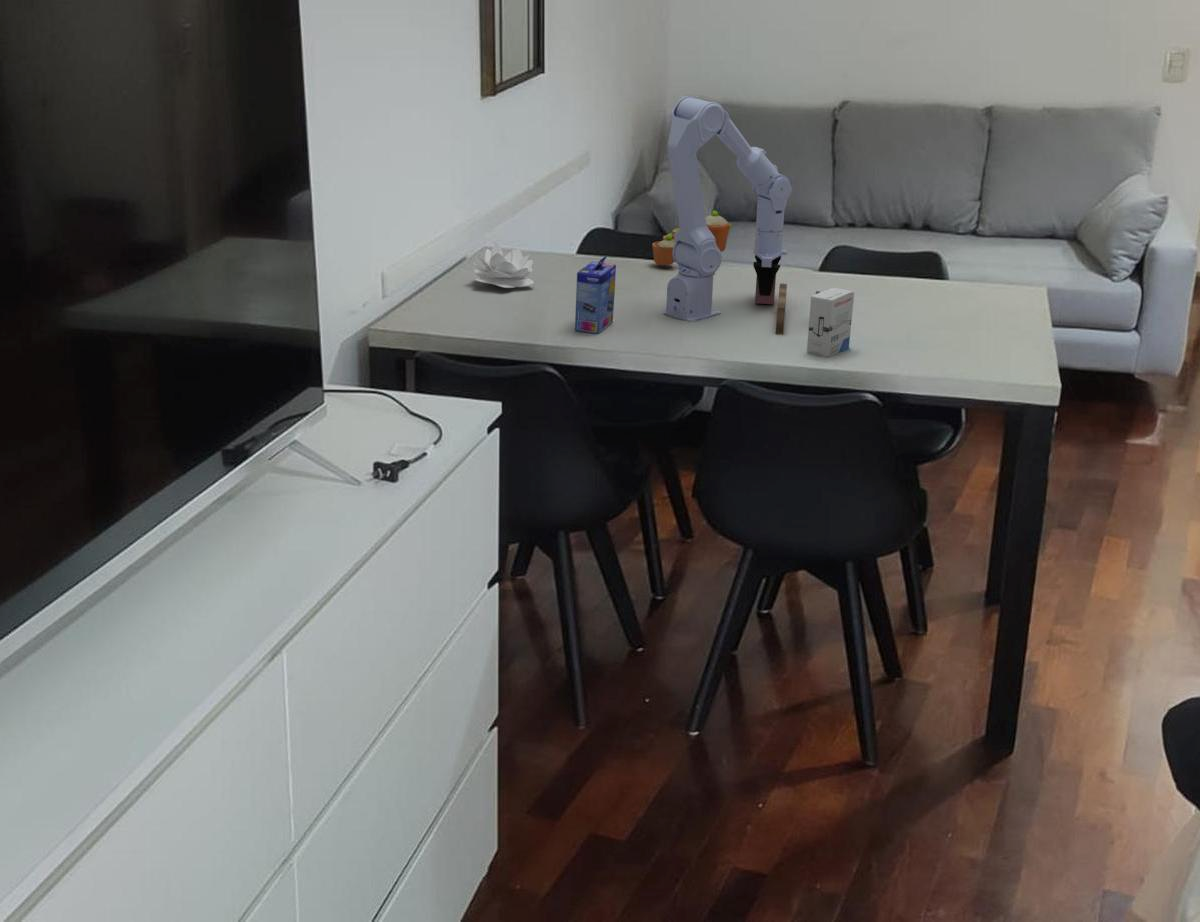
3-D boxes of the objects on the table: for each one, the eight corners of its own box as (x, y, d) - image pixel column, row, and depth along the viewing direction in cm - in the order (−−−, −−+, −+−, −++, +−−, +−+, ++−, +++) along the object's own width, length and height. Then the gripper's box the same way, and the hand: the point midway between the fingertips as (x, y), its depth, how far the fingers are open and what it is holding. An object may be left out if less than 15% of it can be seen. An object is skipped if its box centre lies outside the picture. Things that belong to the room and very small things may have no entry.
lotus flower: (511, 295, 312) (511, 255, 309) (456, 284, 320) (455, 245, 316) (549, 281, 323) (550, 242, 320) (495, 270, 331) (495, 232, 327)
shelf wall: (783, 334, 290) (785, 307, 288) (775, 333, 290) (777, 307, 288) (785, 309, 306) (787, 283, 304) (778, 308, 306) (779, 283, 304)
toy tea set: (673, 240, 362) (674, 201, 358) (733, 246, 357) (735, 207, 353) (642, 265, 339) (643, 224, 335) (706, 271, 334) (708, 230, 331)
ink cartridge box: (600, 335, 287) (601, 263, 281) (573, 331, 288) (574, 260, 283) (615, 321, 296) (617, 251, 290) (589, 318, 297) (590, 249, 292)
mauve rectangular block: (773, 304, 309) (775, 272, 307) (754, 303, 310) (756, 271, 307) (774, 297, 314) (776, 266, 311) (755, 296, 314) (757, 265, 312)
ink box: (828, 344, 284) (833, 285, 280) (850, 349, 282) (855, 290, 277) (805, 354, 278) (809, 294, 274) (827, 359, 275) (832, 299, 271)
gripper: (787, 238, 299) (783, 302, 304) (789, 222, 312) (784, 283, 317) (753, 236, 300) (749, 300, 305) (756, 220, 313) (752, 282, 318)
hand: (765, 291), depth 311 cm, fingers closed on mauve rectangular block, 5 cm apart
